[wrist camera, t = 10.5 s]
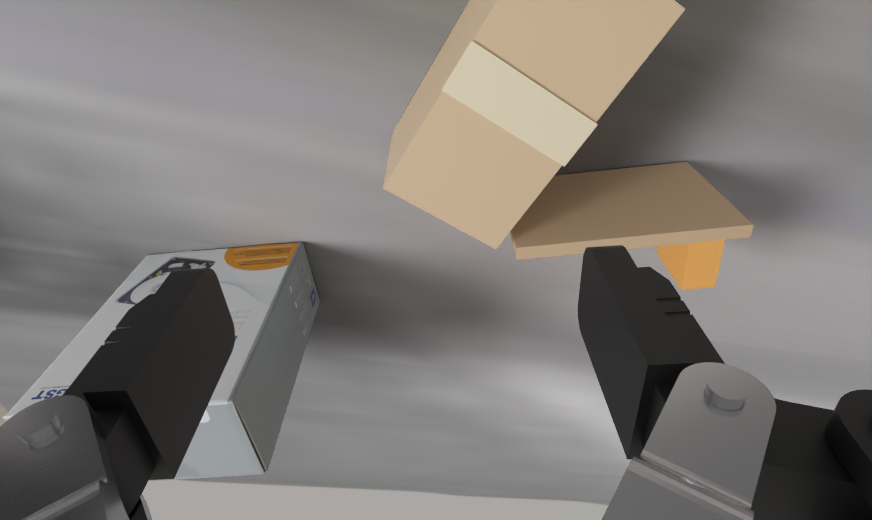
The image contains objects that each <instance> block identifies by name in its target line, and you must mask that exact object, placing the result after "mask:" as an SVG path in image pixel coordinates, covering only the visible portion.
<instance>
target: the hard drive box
mask: <svg viewBox="0 0 872 520" xmlns="http://www.w3.org/2000/svg"><path fill="white" fill-rule="evenodd" d="M197 268H211V269H213V270H214V272H215V273H216V275H217V277H218V280H219V283H220V286H221V289H222V291H223V294H224V297H225V300H226V303H227V306H228V309H229V312H230V314H231V317H232V320H233V323H234V328H235V343H234V348H233V351H232V353H231V355H230V358H229V360H228V362H227V364H226V366H225V369H224V371H223V373H222V375H221V377H220V380H219V382H218V384H217V386H216V388H215V390H214V393H213V395H212V397H211V399H210V401H209V404H208V406H207V408H206V410H205V412H204V415H203V417H202V419H201V421H200V423H199V426H198V428H197V430H196V432H195V434H194V437H193V439H192V441H191V443H190V445H189V447H188V450H187V452H186V454H185V456H184V458H183V461H182V463H181V465H180V467H179V469H178V472H177V474H176V476H175V478H174V479H192V478H207V477H224V476H242V475H255V474H264V473H265V471H267V470H268V467H269V464H270V461H271V458H272V455H273V451H274V449H275V445H276V441H277V438H278V434H279V431H280V429H281V424H282V421H283V418H284V415H285V412H286V409H287V405H288V403H289V399H290V396H291V393H292V390H293V386H294V384H295V380H296V377H297V373H298V370H299V367H300V364H301V360H302V357H303V354H304V351H305V347H306V344H307V341H308V337H309V334H310V331H311V328H312V325H313V322H314V318H315V315H316V312H317V310H318V307H319V304H320V300H319V296H318V293H317V289H316V285H315V282H314V278H313V275H312V271H311V268H310V264H309V261H308V257H307V254H306V251H305V247H304V244H303V243H301V242H298V243H286V244H264V245H256V246H249V247H238V248H227V249H214V250H202V251H183V252H175V253H165V254H155V255H147V256H146V257H145V258H144V259H143V261H142V262H141V263H140V264H139V265H138V266H137V267H136V268H135V270H134V271H133V272H132V273H131V274H130V275H129V276H128V277H127V279H126V280H125V281H124V282H123V283H122V284H121V285H120V287H119V288H118V289H117V290H116V291H115V292H114V293H113V295H112V296H111V297H110V298H109V299H108V300H107V301H106V303H105V304H104V305H103V306H102V307H101V308H100V309H99V311H98V312H97V313H96V314H95V315H94V316H93V317H92V318H91V320H90V321H89V322H88V323H87V324H86V325H85V326H84V327H83V329H82V330H81V331H80V332H79V333H78V334H77V335H76V337H75V338H74V339H73V340H72V341H71V342H70V343H69V344H68V346H67V347H66V348H65V349H64V350H63V351H62V352H61V354H60V355H59V356H58V357H57V358H56V359H55V360H54V361H53V363H52V364H51V365H50V366H49V367H48V368H47V369H46V371H45V372H44V373H43V374H42V375H41V376H40V377H39V378H38V380H37V381H36V382H35V383H34V384H33V385H32V386H31V387H30V389H29V390H28V391H27V392H26V393H25V394H24V395H23V397H22V398H21V399H20V400H19V401H18V402H17V403H16V404H15V405H14V407H13V408H12V409H11V410H10V411H9V412H8V413H7V414H6V415H5V416H4V417H3V419H4V421H5V422H6V421H7V420H8V419H10V418H11V417H12V416H14V415H15V414H17V413H18V412H19V411H21V410H23V409H25V408H26V407H28V406H30V405H32V404H34V403H37V402H39V401H42V400H44V399H48V398H51V397H56V396H63V394H64V393H65V392H66V390H67V389H68V388H69V387H70V385H71V384H72V383H73V381H74V380H75V379H76V377H77V376H78V375H79V374H80V372H81V371H82V370H83V368H84V367H85V366H86V364H87V363H88V362H89V361H90V359H91V358H92V357H93V355H94V354H95V353H96V352H97V350H98V349H99V348H100V346H101V345H104V344H105V342H104V341H105V340H106V339H107V337H108V336H109V335H110V333H111V332H112V331H113V330H116V326H117V324H118V323H119V322H120V320H121V319H122V318H123V316H124V315H125V314H126V313H127V311H128V310H129V309H130V308H132V307H133V306H134V305H136V304H137V303H138V302H140V301H141V300H142V299H144V298H145V297H147V296H148V295H149V294H155V293H156V291H157V290H158V289H159V287H160V286H161V285H162V283H163V282H164V281H165V279H166V278H167V276H168V275H169V274H170V273H171V272H172V271H173V270H179V269H197ZM163 480H173V479H163ZM148 481H157V480H148Z"/></svg>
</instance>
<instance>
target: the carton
mask: <svg viewBox="0 0 872 520" xmlns="http://www.w3.org/2000/svg"><path fill="white" fill-rule="evenodd" d="M684 10H685V8H684V7H682V6H681V5H680V4H679V3H677V2H676V1H675V0H470V1H469V2H468V4H467V6H466V8H465V9H464V11H463V13H462V14H461V16H460V18H459V20H458V21H457V23H456V25H455V26H454V28H453V30H452V32H451V33H450V35H449V37H448V38H447V40H446V42H445V44H444V45H443V47H442V49H441V50H440V52H439V54H438V56H437V57H436V59H435V61H434V62H433V64H432V66H431V68H430V69H429V71H428V73H427V74H426V76H425V78H424V80H423V81H422V83H421V85H420V86H419V88H418V90H417V92H416V93H415V95H414V97H413V98H412V100H411V102H410V103H409V105H408V107H407V109H406V110H405V112H404V114H403V115H402V117H401V119H400V121H399V122H398V124H397V126H396V127H395V129H394V131H393V135H392V140H391V146H390V152H389V157H388V163H387V169H386V174H385V180H384V186H383V189H385V190H387V191H388V192H390V193H392V194H394V195H396V196H398V197H400V198H401V199H403V200H405V201H407V202H409V203H411V204H413V205H415V206H416V207H418V208H420V209H422V210H424V211H426V212H428V213H429V214H431V215H433V216H435V217H437V218H439V219H441V220H442V221H444V222H446V223H448V224H450V225H452V226H454V227H455V228H457V229H459V230H461V231H463V232H465V233H467V234H468V235H470V236H472V237H474V238H476V239H478V240H480V241H481V242H483V243H485V244H487V245H489V246H491V247H493V248H494V249H497V247H498V246H499V245H500V244H501V242H502V241H503V240H504V238H505V237H506V236H507V235H508V233H509V232H510V231H511V230H512V228H513V227H514V226H515V225H516V223H517V222H518V221H519V219H520V218H521V217H522V216H523V214H524V213H525V212H526V211H527V209H528V208H529V207H530V206H531V204H532V203H533V202H534V200H535V199H536V198H537V197H538V195H539V194H540V193H541V192H542V190H543V189H544V188H545V187H546V185H547V184H548V183H549V181H550V180H551V179H552V178H553V176H554V175H555V174H556V173H557V171H558V170H559V169H560V168H561V166H564V167H565V166H566V164H567V163H568V162H569V161H570V159H571V158H572V157H573V155H574V154H575V153H576V152H577V150H578V149H579V148H580V147H581V145H582V144H583V143H584V142H585V140H586V139H587V138H588V137H589V135H590V134H591V133H592V132H593V130H594V129H595V128H596V126H597V125H598V124H597V123H596V122H597V121H598V119H599V118H600V117H601V116H602V114H603V113H604V112H605V111H606V109H607V108H608V107H609V105H610V104H611V103H612V102H613V100H614V99H615V98H616V97H617V95H618V94H619V93H620V91H621V90H622V89H623V88H624V86H625V85H626V84H627V83H628V81H629V80H630V79H631V78H632V76H633V75H634V74H635V72H636V71H637V70H638V69H639V67H640V66H641V65H642V64H643V62H644V61H645V60H646V59H647V57H648V56H649V55H650V53H651V52H652V51H653V50H654V48H655V47H656V46H657V45H658V43H659V42H660V41H661V40H662V38H663V37H664V36H665V34H666V33H667V32H668V31H669V29H670V28H671V27H672V26H673V24H674V23H675V22H676V21H677V19H678V18H679V17H680V15H681V14H682V13H683V12H684Z"/></svg>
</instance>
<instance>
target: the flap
mask: <svg viewBox="0 0 872 520" xmlns="http://www.w3.org/2000/svg"><path fill="white" fill-rule="evenodd" d="M753 226H754V224H753V223H752V222H750V221H749V220H748V219H747V218H746V217H745V216H744V215H743V214H742V213H741V212H740V211H739V210H738V209H737V208H736V207H735V206H733V205H732V204H731V203H730V202H729V201H728V200H727V199H726V198H725V197H724V196H723V195H722V194H721V193H720V192H719V191H718V190H716V189H715V188H714V187H713V186H712V185H711V184H710V183H709V182H708V181H707V180H706V179H705V178H704V177H703V176H702V175H700V174H699V173H698V172H697V171H696V170H695V169H694V168H693V167H692V166H691V165H690V164H689V163H688V162H680V163H670V164H661V165H651V166H642V167H632V168H623V169H613V170H604V171H594V172H585V173H575V174H566V175H556V176H553V178H552V179H551V180H550V181H549V183H548V184H547V185H546V187H545V188H544V189H543V190H542V192H541V193H540V194H539V195H538V197H537V198H536V199H535V200H534V202H533V203H532V204H531V206H530V207H529V208H528V209H527V211H526V212H525V213H524V214H523V216H522V217H521V218H520V219H519V221H518V222H517V223H516V225H515V226H514V227H513V228H512V230H511V231H510V236H511V240H512V244H513V248H514V252H515V256H516V260H522V259H532V258H543V257H553V256H563V255H573V254H584V251H585V249H586V248H587V247H599V246H616V245H623V246H624V247H625V248H626V249H635V248H646V247H656V246H658V247H657V255H658V256H659V258H660V259H661V261H662V262H663V264H664V265H665V267H666V268H667V269H668V271H669V272H670V274H671V275H672V277H673V278H674V280H675V281H676V283H677V284H678V286H679V287H680V289H681V290H686V289H696V288H707V287H715V284H716V280H717V275H718V270H719V266H720V261H721V257H722V252H723V248H724V243H725V240H728V239H738V238H749V237H751V234H752V230H753Z"/></svg>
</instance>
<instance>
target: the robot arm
mask: <svg viewBox="0 0 872 520" xmlns="http://www.w3.org/2000/svg"><path fill="white" fill-rule="evenodd" d="M578 320H579V327H580V331H581V334H582V337H583V340H584V343H585V345H586V348H587V351H588V354H589V356H590V359H591V362H592V364H593V367H594V370H595V373H596V375H597V378H598V381H599V383H600V386H601V389H602V392H603V394H604V397H605V400H606V403H607V405H608V408H609V411H610V413H611V416H612V419H613V422H614V424H615V427H616V430H617V432H618V435H619V438H620V441H621V443H622V446H623V449H624V452H625V454H626V457H627V459H632V460H631V462H630V464H629V466H628V467H627V469H626V471H625V473H624V476H623V478H622V480H621V482H620V484H619V486H618V488H617V490H616V492H615V494H614V496H613V498H612V500H611V502H610V504H609V506H608V508H607V510H606V512H605V514H604V516H603V518H602V520H872V390H856V391H852V392H849V393H847V394H845V395H844V396H843V397H841V399H840V400H839V402H838V404H837V406H836V408H835V410H829V409H823V408H818V407H813V406H807V405H802V404H797V403H791V402H787V401H782V400H778V399H775V398H774V397H773V395H772V394H771V392H770V391H769V389H768V388H767V387H766V386H765V385H764V384H763V383H762V382H761V381H759V380H758V379H757V378H755V377H754V376H752V375H751V374H749V373H747V372H745V371H743V370H741V369H739V368H736V367H733V366H730V365H727V364H725V363H724V362H723V360H722V359H721V357H720V356H719V354H718V353H717V351H716V350H715V348H714V347H713V345H712V344H711V342H710V341H709V339H708V338H707V336H706V335H705V333H704V332H703V330H702V329H701V327H700V326H699V324H698V323H697V321H696V320H695V318H694V317H693V315H690V311H689V309H688V308H687V306H686V305H685V303H684V302H683V301H681V297H680V296H679V294H678V293H677V291H676V290H675V288H674V287H673V285H672V284H671V282H670V281H669V280H668V279H666V278H665V277H664V276H662V275H661V274H659V273H658V272H656V271H655V270H654V269H652V268H651V267H640V268H637V266H636V265H635V263H634V261H633V260H632V258H631V256H630V255H629V253H628V251H627V250H626V248H625V247H624V246H623V245H616V246H599V247H587V248H586V249H585V251H584V256H583V264H582V273H581V283H580V292H579V301H578ZM104 342H105V344H104V345H101V346H100V348H99V349H98V350H97V352H96V353H95V354H94V355H93V357H92V358H91V359H90V361H89V362H88V363H87V364H86V366H85V367H84V368H83V370H82V371H81V372H80V374H79V375H78V376H77V377H76V379H75V380H74V381H73V383H72V384H71V385H70V387H69V388H68V389H67V390H66V392H65V393H64V394H63V396H56V397H51V398H48V399H44V400H42V401H39V402H37V403H34V404H32V405H30V406H28V407H26V408H25V409H23V410H21V411H19V412H18V413H17V414H15V415H14V416H12V417H11V418H10V419H8V420H7V421H6V422H5V423H4V424H3V425H2V426H1V427H0V520H152V518H151V514H150V511H149V509H148V506H147V503H146V501H145V499H144V497H143V495H142V492H143V490H144V488H145V486H146V484H147V482H148V480H163V479H174V478H175V476H176V474H177V472H178V469H179V467H180V465H181V463H182V461H183V458H184V456H185V454H186V452H187V450H188V447H189V445H190V443H191V441H192V439H193V437H194V434H195V432H196V430H197V428H198V426H199V423H200V421H201V419H202V417H203V415H204V412H205V410H206V408H207V406H208V404H209V401H210V399H211V397H212V395H213V393H214V390H215V388H216V386H217V384H218V382H219V380H220V377H221V375H222V373H223V371H224V369H225V366H226V364H227V362H228V360H229V358H230V355H231V353H232V351H233V348H234V343H235V328H234V323H233V320H232V317H231V314H230V312H229V309H228V306H227V303H226V300H225V297H224V294H223V291H222V289H221V286H220V283H219V280H218V277H217V275H216V273H215V272H214V270H213V269H211V268H197V269H179V270H173V271H172V272H171V273H170V274H169V275H168V276H167V278H166V279H165V281H164V282H163V283H162V285H161V286H160V287H159V289H158V290H157V291H156V293H155V294H149V295H148V296H147V297H145V298H144V299H142V300H141V301H140V302H138V303H137V304H136V305H134V306H133V307H132V308H130V309H129V310H128V311H127V313H126V314H125V315H124V316H123V318H122V319H121V320H120V322H119V323H118V324H117V326H116V330H113V331H112V332H111V333H110V335H109V336H108V337H107V339H106V340H105V341H104Z"/></svg>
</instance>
